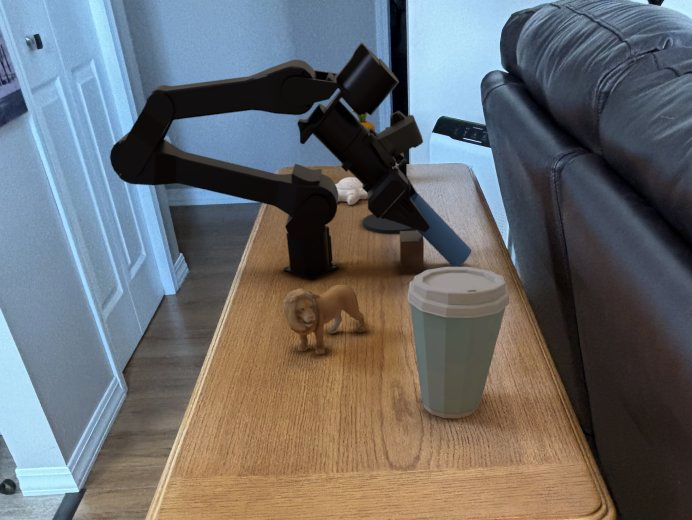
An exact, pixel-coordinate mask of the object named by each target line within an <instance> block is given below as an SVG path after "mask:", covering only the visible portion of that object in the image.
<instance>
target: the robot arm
mask: <svg viewBox="0 0 692 520" xmlns="http://www.w3.org/2000/svg"><path fill="white" fill-rule="evenodd" d="M399 83H400V81H399V79H398V78H397V76H396V75H395V73H394V72H392V70H391V68H389V66H388V65H387V64H386V63H385V62H384V61H383V60H382V59H381V58H378V57H377V55H376V54H375V53H373V52H372V50H370V49H369V48H368V46H366V45H365V43H364V42H360V43H359V44H358V45H357V46H356V48H355V49H354V52H353V53H352V55H351V56H350V58H349V59H348V60H347V62H346V63H345V65H344V66H343V67H342V68H341V69H340V71H339V72H338V73H336V72H331V71H324V70H323V71H322V70H315V69H314V67H312V66H311V65H310V64H309V63H308V62H307V61H304V60H302V59H291V60H288V61H286V62H283V63H280V64H277V65H274V66H271V67H269V68H266V69H264V70H262V71H259V72H257V73H254V74H251V75H249V76H240V77H233V78H225V79H218V80H210V81H201V82H194V83H193V82H192V83H186V84H177V85H165V84H162V85H159V86H157V87H156V88H154V89H153V90H152V91H151V92H150V93H149V94H148V96H147V98H146V102H145V104H144V106H143V108H142V110H141V112H140V113H139V116H138V117H137V118H136V120H135V122H134V123H133V125H132V127H131V129H130V130H129V131H128V132H127V133H126V134H124V135H123V136H122V137H121V138H120V139H119V140H118V141H116V142H115V144H113V146H112V148H111V150H110V155H109V159H110V164H111V167H112V169H113V171H114V172H115V173H116V175H117V176H118V177H119V179H120V180H121V181H123V182H125V183H127V184H130V185H141V186H165V185H174V184H177V185H178V184H179V185H183V186H188V187H191V188H197V189H200V190H204V191H209V192H213V193H218V194H222V195H227V196H230V197H234V198H239V199H243V200H248V201H251V202H256V203H261V204H265V205H268V206H273V207H275V208H277V209H279V210H280V211H282V212H284V214H287V219H286V222H285V227H284V228H285V230H286V243H287V251H288V261H289V265H287V266H285V267H283V268H282V269H283V272H284V273H288V274H290V275H293V276H296V277H300V278H304V279H306V280H311V281H313V280H316V279H318V278H321V277H323V276H325V275H328V274H330V273H332V272H334V271H337V270H338V269H340V264H337V263H333V248H332V247H333V246H332V236H331V235H330V227H329V226H327V225H328V224H330V223H331V222H332V221H333V220H334V218H335V217H336V214H337V211H338V203H339V202H338V190H337V187H336V185H335V184H336V183H335V182H334V181H333V179H332V178H331V177H330V176H328V175H325V174H323V173H322V172H323V170H322V168H317V169H314V168H313V169H311V168H308V167H306V166H303V165H301V164H298V163H294V165H293V167H292V171H291V173H284V174H279V173H273V172H270V171H266V170H262V169H258V168H253V167H249V166H245V165H241V164H238V163H233V162H229V161H224V160H221V159H216V158H212V157H208V156H205V155H200V154H195V153H191V152H189V151H184V150H182V149H180V148H179V147H178V146H175V144H173V143H171V142H170V141H167V140H166V139H165V138H166V136H167V135H168V132H169V131H170V129H171V127H172V124H173V122H174V121H176V120H184V119H192V118H199V117H200V118H201V117H208V116H209V117H210V116H216V115H224V114H232V113H239V112H247V111H257V112H258V111H259V112H265V113H271V114H274V115H275V114H277V115H290V116H301V115H304V114H307V113H308V112H309V111H310V110H311V109H312V108H313V106H314V105H315V103H318V104H317V106H316V107H315V108H314V110H313V111H312V112H311V113H310V115H309V116H308V117H307V118H305V119H304V118H299V119H298V120H297V123H296V124H297V126H298V131H299V143H300V144H301V145H305V144H306V142H307V141H308V140H309V139H310V138H311V136H312V135H313V136H314V137H315V138H316V139H317V140H318V141H319V142H320V143H321V144H322V145H323V146H324V147H325V148H326V149H327V150H328V151H329V152H330V153H331V154H332V155H333V157H335V158H336V159H337V160H338V162H340V163H341V164H340V165H341V166H340V167H341V168H342V170H344V171H345V172H346V173H347V172H348V171H349V172H350V173H351V174H352V175H353V177H355V178H357V179H358V180H359V181H360V182H361V183H362V184H363V185H362V188H363V189H364V190H365V191H366V192H367V193H368V197H367V209H368V211H369V212H370V213H371V214H374V215H375V216H376V217H377V218H379V217H380V218H382V219H387V220H391V221H394V222H397V223H400V224H403V225H406V226H408V227H411V228H414V229H417V230H419V231H422V232H426V231H427V230H428V229H429V228H430V226H429V224H428V223H427V221H426V220H425V218H424V217H423V215H422V214H421V212H420V211H419V209H418V208H417V206H416V205H415V204H414V202H413V201H412V199H411V198H410V197H412V196H413V195H414V194H416V193H418V192H417V190H416V189H415V187H414V185H413V184H412V181H410V179H409V177H408V168H407V167H408V166H407V165H408V164H407V159H406V157H405V154H404V153H405V152H406V151H409V150H411V149H412V148H414V149H415V148H417V147H419V146H421V145H422V144H423V143H424V139H423V136H422V132H421V130H420V128H419V126H418V124H417V121H416V118H415V116H414V115H413V114H407V116H406V115H405V114H404V113H403V112H401V111H400V110H397V111H395V112H393V113H392V114H390V116H389V126H386V127H385V129H383V130H381V131H380V132H376V130H375V131H374V130H373V129H372V128H371V129H369V127H368V128H367V129H366V128H365V127H364V126H363V125H362V123H361V122H360V121H359V118H358V117H357V116H355V115H354V114H353V112H351V110H352V109H353V110H354V111H355V112H356V113H357V114H358V115H360V116H361V115H362V114H363V115H364V114H365V113H366V112H367V115H369V116H372V115H374V113H375V112H376V111H377V109H378V108H379V107H380V106H381V104H382V103H383V102H384V101H385V100H386V99H387V97H388V96H389V95H390V94H391V93H392V91H394V89H395V88H396V87H397V85H398V84H399ZM337 90H339V91H337ZM336 91H337V93H336ZM335 93H336V94H335ZM334 94H335V95H334ZM333 95H334V97H333V98H332V96H333ZM331 98H332V99H331ZM330 99H331V100H330ZM341 99H342V100H344V102H345V103H346V104H347V105H348V106H349V107H350V108H351V110H349V108H347V107H346V105H345V104H344V103H343V102H342V101H341ZM327 100H330V101H329V102H328V103H327V105H326V106H325V105H324V104H322V103H320V102H324V101H327ZM356 113H355V114H356ZM398 160H400V162H399V163H397V161H398ZM417 230H416V231H417Z"/></svg>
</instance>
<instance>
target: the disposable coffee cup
mask: <svg viewBox="0 0 692 520" xmlns="http://www.w3.org/2000/svg"><path fill="white" fill-rule="evenodd" d="M408 285H409V286H408V287H409V288H408V290H407V302H408V303H409V306H410V316H411V324H412V331H413V340H414V349H415V356H416V365H417V373H418V382H419V388H420V391H419V392H420V399H421V403H422V404H423V408H424V409H425V410H426V411H427V412H429V414H431V415H434V416H436V417H440V418H443V419H462V418H466V417H468V416H471V415H473V414H474V413H475V412H476V411H477V410H478V407H479V405H480V404H481V403H482V399H483V395H484V392H485V387H486V383H487V380H488V376H489V372H490V368H491V365H492V361H493V356H494V354H495V349H496V345H497V341H498V338H499V335H500V330H501V326H502V323H503V318H504V315H505V312H506V307H508V306H509V305H510V292H509V287H508V285H507V283H506V281H505V278H504V276H503V275H500V274H498V273H496V272H493V271H491V270H487V269H482V268H478V267H471V266H459V267H453V266H442V267H437V268H431V269H426V270H423V272H422V273H420V274H417V275H416V274H415V276H414V277H413V279H412V280H411V281H410V282H409V284H408Z"/></svg>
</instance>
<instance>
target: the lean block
mask: <svg viewBox="0 0 692 520" xmlns="http://www.w3.org/2000/svg"><path fill="white" fill-rule="evenodd" d="M424 243H425V241H424V237H423V236H422V235H421V234H420V233H419V232H418V231H417V230H414V231H400V233H399V265H400V274H401V275H416V274H417V275H418V274H420V273H422V272H424V261H425V260H424V255H425V253H424V251H425V244H424Z"/></svg>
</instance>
